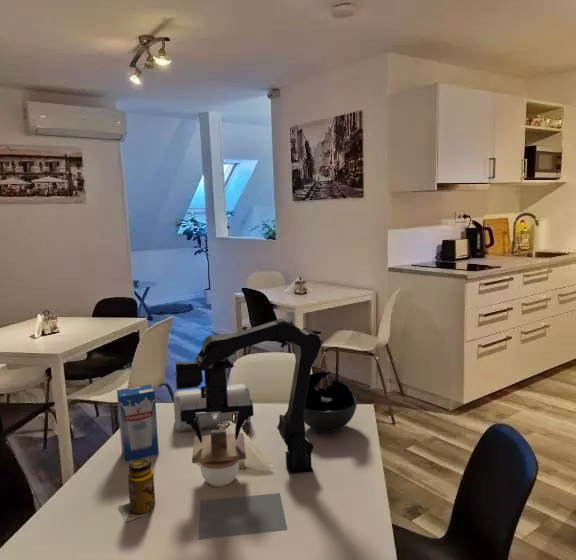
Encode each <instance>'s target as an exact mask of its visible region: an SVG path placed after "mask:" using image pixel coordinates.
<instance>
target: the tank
mask: <svg viewBox="0 0 576 560" xmlns="http://www.w3.org/2000/svg"><path fill="white" fill-rule="evenodd" d="M250 392H251V391H250V389H249V386H248V385H247V384H246V383H237V384H236V383H235V384H230V385H229V384H227V393H228V405H234V404H238V400H241V399H251V393H250ZM188 403H196V404H197V407H206V398H201V388H200V389H199V388H190V389H181V390H176V391H175V392H174V393H173V406H174V407H173V411H174V422H175V423H174V425H175V431H177V432H178V433H182V432H191V431H194V429H193V428H192V426H191V425H190V424H186V422H182V421H181V416H180V412H181V407H182V405H183V404H188ZM232 414H233V412H228V413H215V414H203V415H199V422H200V428H201V430H205V429H211V428H218V427H217V426H218V424H219V423H221V422H225V421H231V416H232ZM236 415H237V412H236ZM251 417H252V416H250V417H249V419H247V420H246V422H247V423H246V424H248V423H250V422H251V419H252V418H251Z"/></svg>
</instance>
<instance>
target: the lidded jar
mask: <svg viewBox="0 0 576 560" xmlns="http://www.w3.org/2000/svg"><path fill="white" fill-rule="evenodd" d="M199 466H200V467H199V468H200V473H201V475H202V478H203V479H204V481H206V483H207V484H209V485H211V486H212V487H224V486H228V485H229V484H230V483H232V482H233V481H234V480H235V479H236V477H237V476H238V473H239V470H240V460H227V461H215V462H202V463H199Z"/></svg>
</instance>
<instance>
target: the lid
mask: <svg viewBox="0 0 576 560" xmlns="http://www.w3.org/2000/svg"><path fill="white" fill-rule="evenodd" d="M244 435H245V434H244V432H239V435H238V438H237V440H235V433H227V429H214V430H213V429H212V430H210V435H209V434H208V435H202V443H200V441H199V439H198V437H197V435H196V436H194V437H193V438H194V440H193V448H192V457H191V458H192V459H191V464H200V463H202V462H215V461H227V460H239V461H241V460H246V458H247V455H246V447H245V445H246V444H245V437H244Z"/></svg>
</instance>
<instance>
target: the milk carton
mask: <svg viewBox="0 0 576 560" xmlns="http://www.w3.org/2000/svg"><path fill="white" fill-rule="evenodd" d="M116 393H117V405H118V407H117V408H118V419H119V433H120V442H121V453H122V457H123V460H124V463H128V462H132V461H134V460H136V459H142V458H143V459H147V458H150V457H154V456H157V455H158V456H159V453H160V451H159V450H160V449H159V438H158V437H159V436H158V422H157V410H156V409H157V407H156V394H155V393H156V391H155V389H154V387H153V386H152V384H145V385H139V386H135V387H128V388H123V389H117V390H116Z"/></svg>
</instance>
